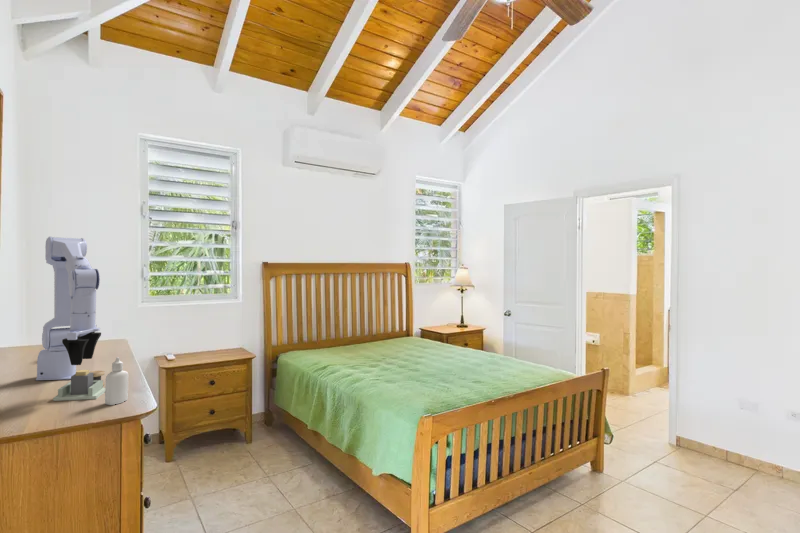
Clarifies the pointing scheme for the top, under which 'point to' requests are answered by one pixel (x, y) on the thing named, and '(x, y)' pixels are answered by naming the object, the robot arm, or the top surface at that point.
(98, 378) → the spool
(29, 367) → the top surface
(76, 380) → the plug
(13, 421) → the top surface
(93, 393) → the notched board
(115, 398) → the eye dropper bottle
